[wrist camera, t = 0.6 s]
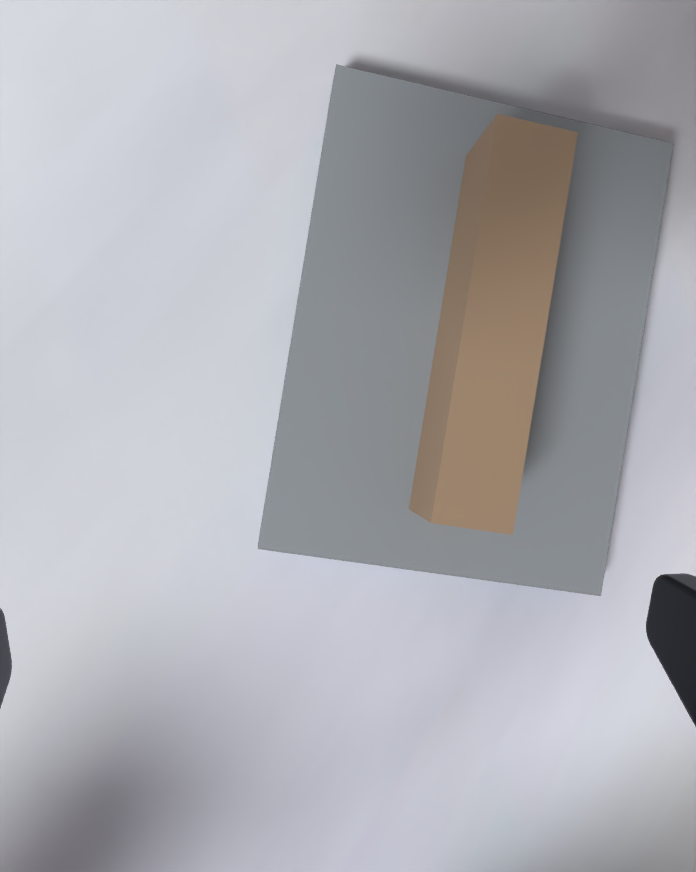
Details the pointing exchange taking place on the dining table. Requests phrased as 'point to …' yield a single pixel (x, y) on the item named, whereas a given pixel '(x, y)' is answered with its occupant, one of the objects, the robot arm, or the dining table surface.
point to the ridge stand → (465, 337)
